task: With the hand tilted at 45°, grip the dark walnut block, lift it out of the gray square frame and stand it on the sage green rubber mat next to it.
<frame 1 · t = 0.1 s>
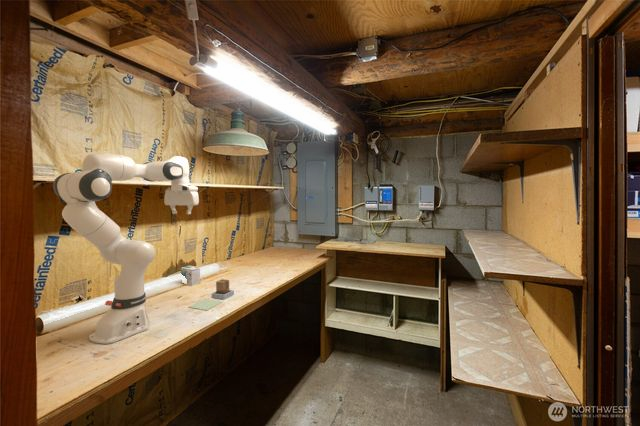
hand: (181, 214, 159), 48 cm above the workbench, tool pointing down, fingers open, 8 cm apart
light bulb box: (190, 283, 196), on the workbench
rubber mat: (205, 304, 160), on the workbench
walnut block: (222, 288, 172), in the gray square frame
gray square frame: (223, 296, 173), on the workbench
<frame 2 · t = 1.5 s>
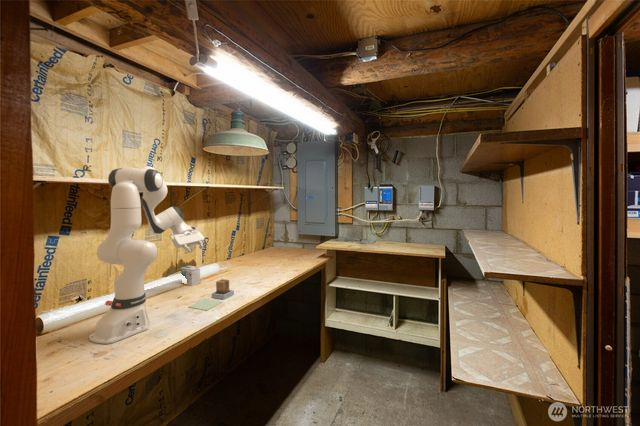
hand: (196, 249, 177), 26 cm above the workbench, tool tilted 45°, fingers open, 8 cm apart
nothing on the workbench moved.
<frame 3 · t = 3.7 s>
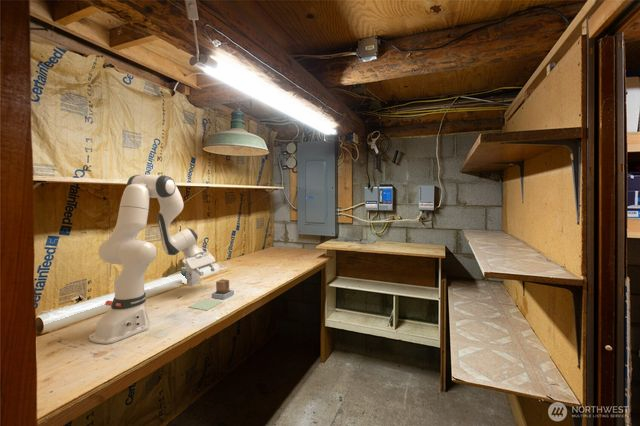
hand: (208, 272, 175), 13 cm above the workbench, tool tilted 45°, fingers open, 8 cm apart
nothing on the workbench moved.
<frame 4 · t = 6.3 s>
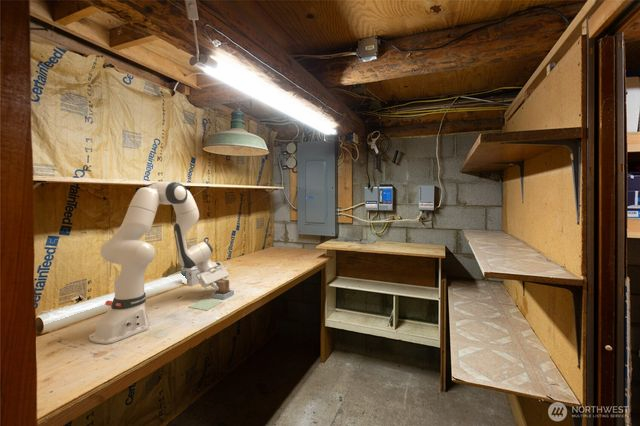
hand: (222, 287, 172), 5 cm above the workbench, tool tilted 45°, fingers closed on walnut block, 5 cm apart
walnut block: (222, 288, 172), in the gray square frame, touching gripper
everything else where it was.
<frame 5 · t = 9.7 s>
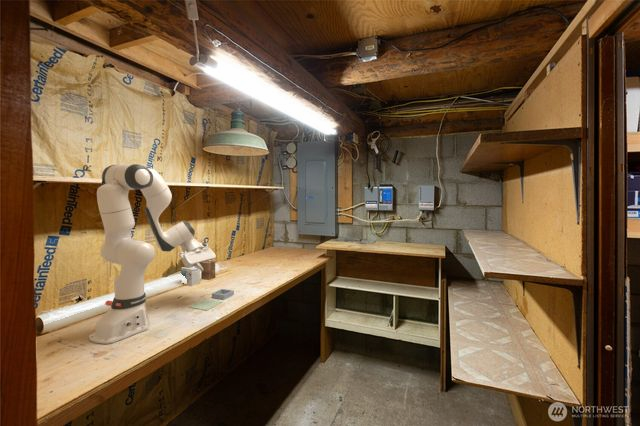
hand: (207, 269, 161), 18 cm above the workbench, tool tilted 45°, fingers closed on walnut block, 5 cm apart
walnut block: (208, 270, 161), point 18 cm above the workbench, touching gripper
everything else where it was.
when the fingers open (7 cm above the workbench, at t = 12.9 s): walnut block drops 1 cm, resting on rubber mat.
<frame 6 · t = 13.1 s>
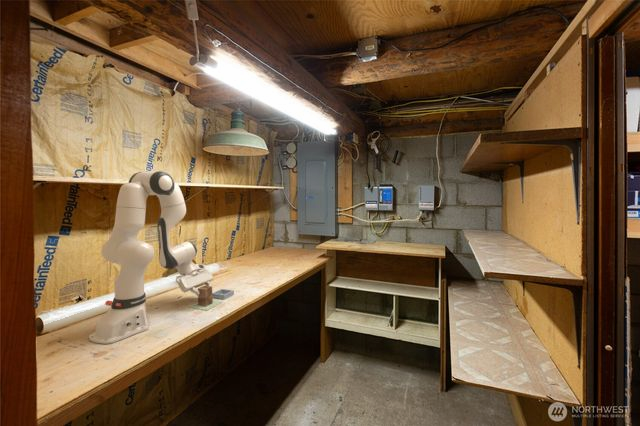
hand: (204, 292, 159), 7 cm above the workbench, tool tilted 45°, fingers open, 7 cm apart
walnut block: (205, 295, 159), on the rubber mat
everything else where it was.
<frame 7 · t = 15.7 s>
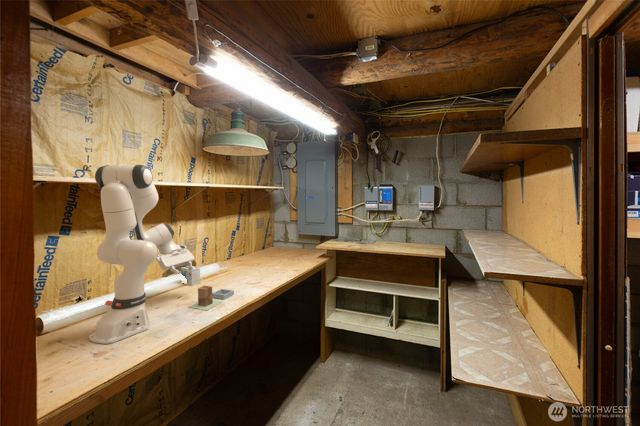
hand: (185, 271, 163), 17 cm above the workbench, tool tilted 45°, fingers open, 8 cm apart
nothing on the workbench moved.
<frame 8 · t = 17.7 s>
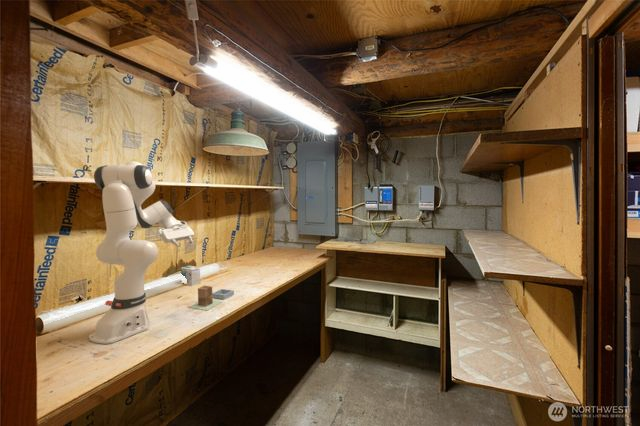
hand: (185, 244, 172), 29 cm above the workbench, tool tilted 45°, fingers open, 8 cm apart
nothing on the workbench moved.
at the end: walnut block inside the target area on the rubber mat (0.1 cm from its centre), point 4.9 cm above the rubber mat's base; walnut block tilted 0°; the gripper is holding nothing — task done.
